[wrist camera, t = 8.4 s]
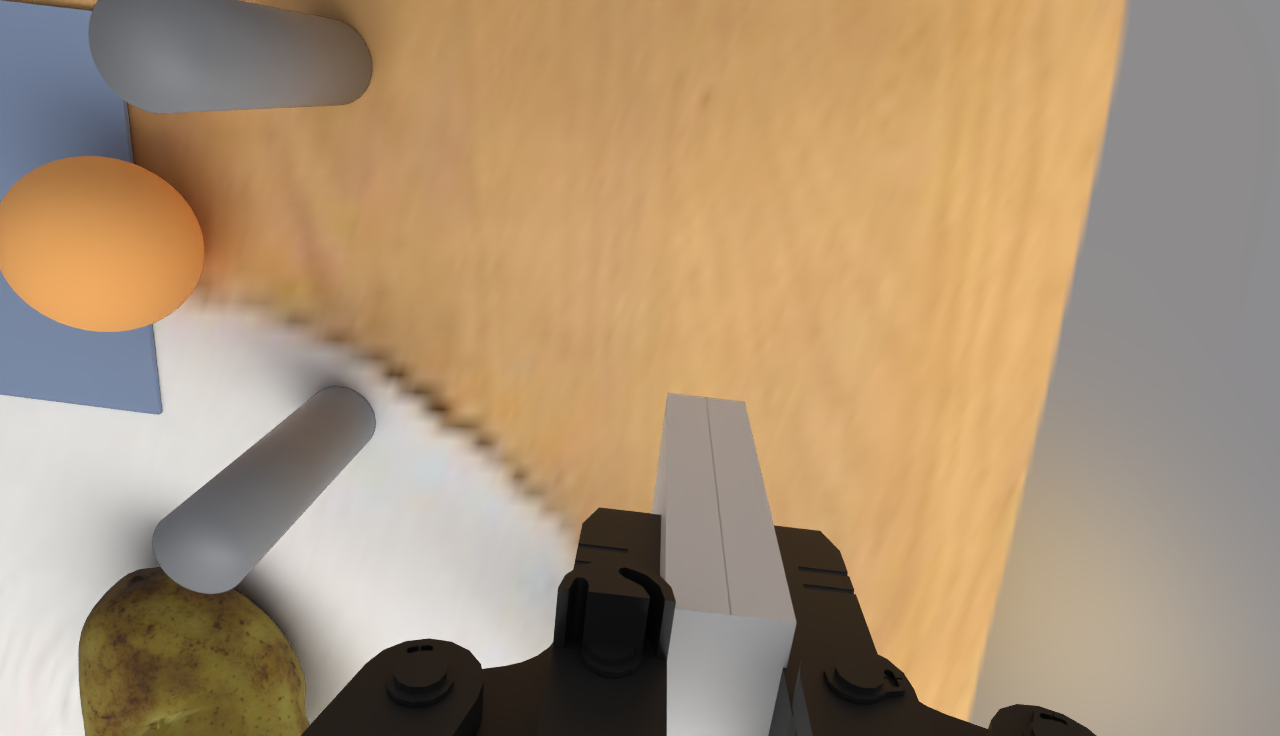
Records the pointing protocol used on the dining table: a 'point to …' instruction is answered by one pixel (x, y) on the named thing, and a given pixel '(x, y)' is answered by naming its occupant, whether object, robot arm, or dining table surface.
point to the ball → (99, 244)
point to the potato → (186, 664)
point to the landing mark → (31, 137)
